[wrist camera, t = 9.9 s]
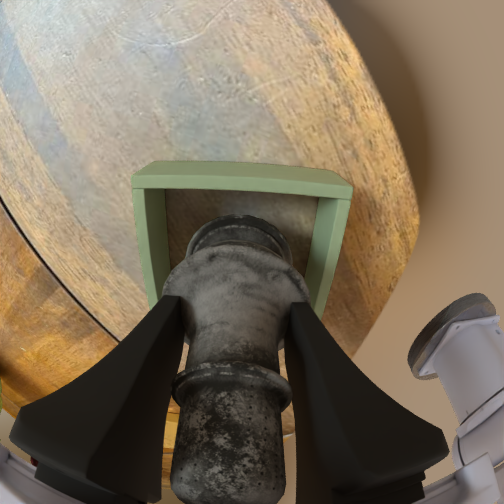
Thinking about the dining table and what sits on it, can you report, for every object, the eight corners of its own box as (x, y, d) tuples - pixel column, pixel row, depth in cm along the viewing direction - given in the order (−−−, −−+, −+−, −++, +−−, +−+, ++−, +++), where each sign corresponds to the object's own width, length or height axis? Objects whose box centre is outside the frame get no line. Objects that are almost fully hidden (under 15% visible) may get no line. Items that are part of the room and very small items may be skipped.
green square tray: (333, 170, 13) (354, 187, 10) (305, 310, 18) (313, 343, 15) (153, 161, 13) (130, 175, 10) (166, 303, 17) (155, 335, 15)
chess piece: (312, 221, 12) (423, 519, 2) (281, 315, 15) (304, 538, 5) (184, 198, 12) (42, 509, 1) (177, 300, 15) (124, 524, 4)
